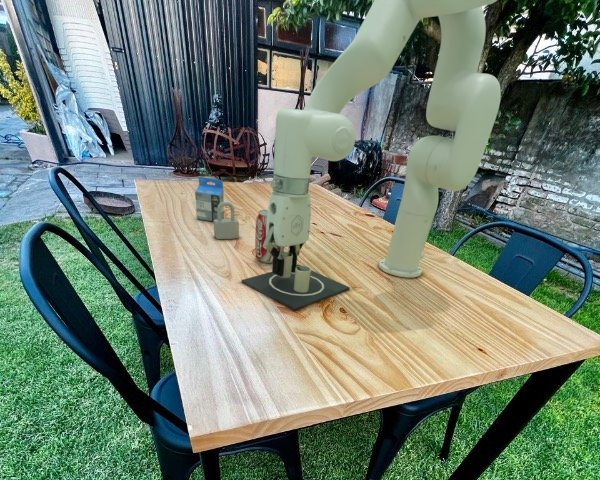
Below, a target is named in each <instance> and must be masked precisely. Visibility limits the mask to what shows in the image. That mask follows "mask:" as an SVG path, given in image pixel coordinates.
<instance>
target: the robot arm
mask: <svg viewBox="0 0 600 480" xmlns="http://www.w3.org/2000/svg"><path fill="white" fill-rule="evenodd" d="M497 1H498V0H373V2H372V4H371V6H370V8H369V10H368V12H367V14H366V16H365V18H364V19H363V21H362V23H361V25H360V27H359V29H358V31H357V33H356V35H355V36H354V38H353V39H352V41H351V42H350V44H349V45H348V46H347V47H346V48H345V49H344V50H343V51H342V53H341V54H340V55H339V56H338V57H337V58H336V59H335V60H334V62H333V63H332V64H331V65H330V66H329V68H327V70H326V71H325V72H324V73H323V75H322V76H321V77H320V79H319V80H318V82H317V83H316V85H315V86H314V88H313V90H312V91H311V94H310V96H309V98H308V99H307V101H306V104H305V105H304V107H303V109H297V108H289V107H284V108H283V107H282V108H280V109H278V111H277V114H276V119H275V135H274V136H275V137H274V156H273V175H272V178H273V179H272V180H271V181H270V187H271V188H272V192H270V195H269V200H268V206H267V210H268V213H267V222H266V239H265V241H264V243H263V247H264V248H265V249H267V250H268V251H269V252H270V253H271V256H273V263H272V268H271V269H272V270H271V272H273V273H274V274H276V275H278V276H280V277H281V276H283V272H284V259H282V258H283V253H284V251H285V248H287V252H290V253H292V254H293V260H292V271H291V272H292V273H295V268H296V265H298V264H297V263H298V256H299V255H300V254H301V253H300V252H301V249H302V248H303V247H304V245H305V243H306V242H308V241H309V238H310V230H311V216H312V214H311V213H312V209H311V208H312V204H311V203H312V202H311V194H310V193H309V189H310V188H309V187H310V177H311V170H312V162H313V161H312V160H313V158H318V159H323V160H326V161H329V162H338V161H341V160H344V159H345V158H346V157H348V156H349V155H350V153H351V152H352V151H353V149H354V146H355V144H356V129H355V127H354V125H353V123H352V120H350V119H349V118H348V117H346V116H345V115H343V114H341V112H342V110H343V109H344V108H345V107H346V106H347V104H349V103H350V102H351V101H352V100H353V99H354V98H355V97H356V96H358V95H360V94H361V93H363V92H365V91H366V90H368V89H370V88H372V87H373V86H375V85H377V84H378V83H380V82H381V81H382V80H384V79H385V78H386V77H388V75H389V74H390V73H391V71H392V69H393V67H394V66H395V64H396V62H397V61H398V59H399V57H400V54H401V53H402V52H403V49H404V48H405V46H406V44H407V42H408V41H409V40H410V37H411V35H412V34H413V33H414V30H415V29H416V27H417V25H418V23H420V21H421V20H422V19H424V18H433V17H438V20H439V25H440V35H441V38H440V39H441V40H440V46H439V50H438V51H439V52H438V58H437V61H436V66H435V70H434V74H433V78H432V82H431V87H430V91H429V95H428V99H427V104H426V109H425V110H426V111H425V118H426V121H427V123H428V124H429V125H430V126H431V127H433V128H437V129H439V130H444V131H452V132H455V133H454V137H453V138H452V137H446V136H440V135H427V136H424V137H421V138H419V140H417V141H416V142H415V143H414V144H413V146H412V147H411V149H410V151H409V153H408V156H407V159H406V160H407V161H406V166H405V167H406V168H405V178H404V186H403V191H402V195H401V199H400V203H399V208H398V211H397V213H396V214H397V215H396V218H395V222H394V226H393V230H392V234H391V237H390V240H389V241H390V242H389V245H388V249H387V252H386V257H385V258H383V259H381V260H379V263H378V267H379V269H380V270H381V271H382V272H385V273H387V274H388V275H391V276H395V277H398V278H399V277H400V278H406V279H407V278H408V279H411V278H417V277H420V276H421V275H422V274H423V268H422V267H421V266H420V265H419V264H420V262H421V260H423V259H424V258H425V253H424V249H425V246H426V243H427V241H428V237H429V234H430V231H431V229H432V228H431V227H432V224H433V223H434V222H433V221H434V219H435V216H436V213H437V210H438V205H439V189H442V190H445V191H449V192H459V191H462V190H464V189H465V188H466V187H467V186H469V185H470V183H471V182H472V181H473V179H474V178H475V176H476V174H477V171H478V169H479V167H480V164H481V161H482V159H483V156H484V153H485V151H486V147H487V145H488V142H489V139H490V136H491V133H492V131H493V127H494V126H495V121H496V119H497V117H498V113H499V109H500V104H501V95H502V92H501V91H502V90H501V85H500V84H501V83H500V82H499V80H498V78H496V77H495V76H494V75H493V74H490V73H480V72H479V73H478V69H479V65H480V62H481V57H482V54H483V50H484V46H485V41H486V32H487V31H486V30H487V29H486V27H487V26H486V17H485V13H484V9H483V7H485V6H488V5H492V4H494V3H496V2H497ZM272 243H273V244H272ZM277 247H279V251H278V250H277Z"/></svg>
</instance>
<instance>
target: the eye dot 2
mask: <svg viewBox="0 0 600 480" xmlns="http://www.w3.org/2000/svg"><path fill="white" fill-rule="evenodd" d="M311 270H312V269H311V267H309V266H305V265H301V266H297V267H296V268H295V279H294V290H295V291H297V292H300V293H305V292H308V290H309V282H310V274H311Z"/></svg>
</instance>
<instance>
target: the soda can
mask: <svg viewBox="0 0 600 480" xmlns="http://www.w3.org/2000/svg"><path fill="white" fill-rule="evenodd" d="M267 213H268V209H261V210H259V211H258V213H257V216H256V218H255V238H254V239H255V241H254V252H255V258H256V259H257V260H258V261H259V262H261V263H264V264H273V256H271V253H270V252H269V251H268V250H267V249H265V248H264V247H263V243H264V241H265V239H266V222H267ZM272 244H273V243H272ZM277 250H278V251H279V247H277Z"/></svg>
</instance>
